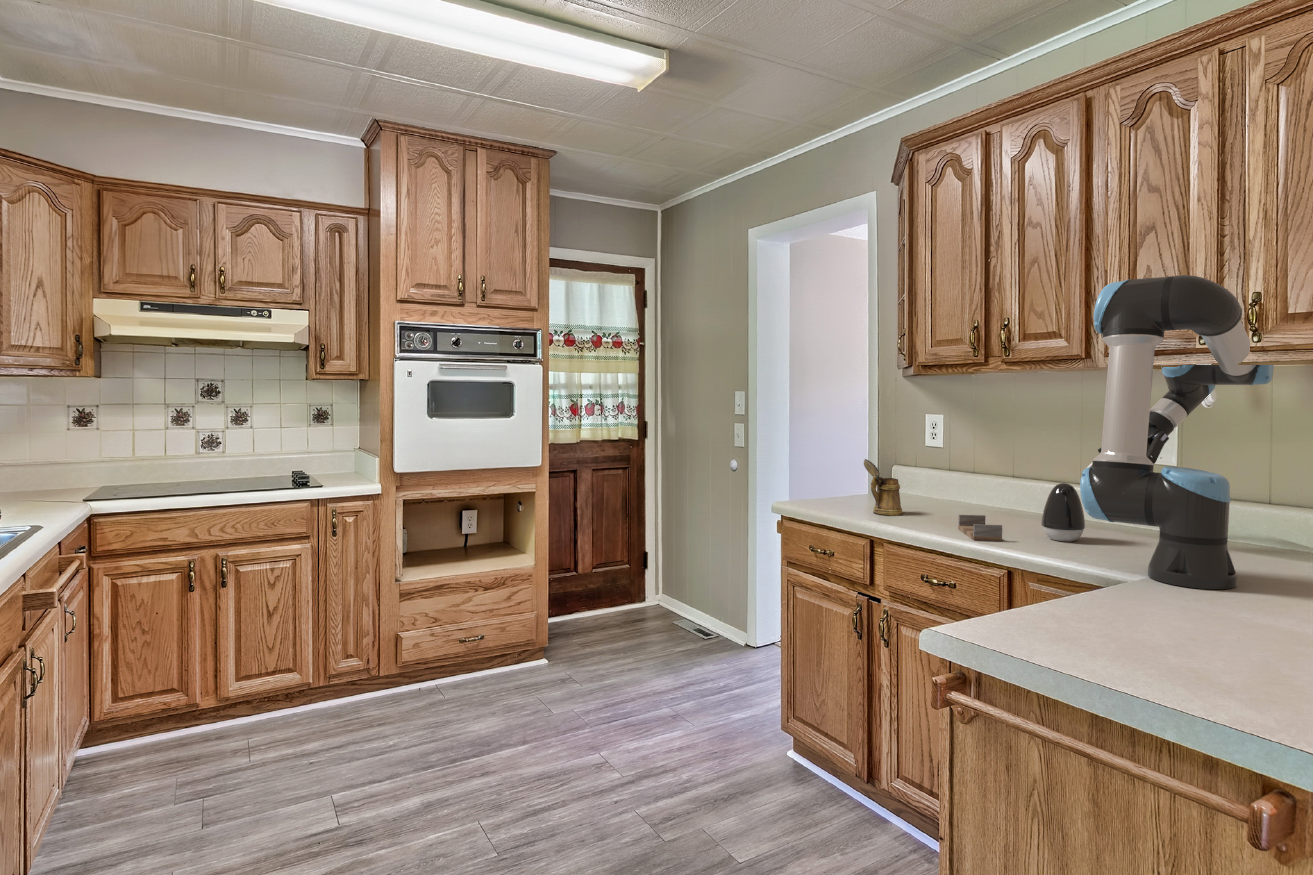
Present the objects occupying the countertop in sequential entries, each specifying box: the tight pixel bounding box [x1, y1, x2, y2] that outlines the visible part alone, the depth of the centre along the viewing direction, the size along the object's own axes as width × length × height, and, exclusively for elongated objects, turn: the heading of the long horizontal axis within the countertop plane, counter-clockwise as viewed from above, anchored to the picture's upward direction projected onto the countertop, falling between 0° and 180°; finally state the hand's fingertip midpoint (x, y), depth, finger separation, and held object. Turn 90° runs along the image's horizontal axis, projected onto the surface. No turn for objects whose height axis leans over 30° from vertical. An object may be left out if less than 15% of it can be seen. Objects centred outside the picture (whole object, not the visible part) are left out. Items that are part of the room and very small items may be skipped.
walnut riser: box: [957, 514, 1003, 542], centre depth 206 cm, size 16×7×4 cm, turn 172°
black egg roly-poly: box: [1041, 482, 1086, 543], centre depth 199 cm, size 10×10×15 cm
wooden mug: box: [863, 458, 904, 517], centre depth 240 cm, size 9×14×18 cm, turn 109°
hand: (1103, 476), depth 199 cm, fingers open, 13 cm apart
